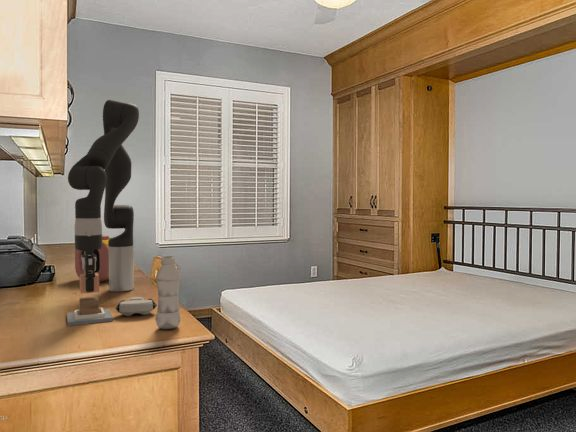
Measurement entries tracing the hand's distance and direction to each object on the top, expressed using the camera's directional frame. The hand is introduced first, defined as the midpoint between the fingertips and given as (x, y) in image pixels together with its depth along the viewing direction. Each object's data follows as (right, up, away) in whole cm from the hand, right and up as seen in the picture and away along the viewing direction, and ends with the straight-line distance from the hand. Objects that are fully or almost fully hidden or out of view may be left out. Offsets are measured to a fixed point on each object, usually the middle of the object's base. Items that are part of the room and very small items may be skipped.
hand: (89, 289), depth 139 cm
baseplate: (0, -9, 0) cm, 9 cm away
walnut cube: (0, -8, 0) cm, 8 cm away
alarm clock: (-23, -6, +65) cm, 69 cm away
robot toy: (+12, -9, +8) cm, 17 cm away
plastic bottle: (+26, -9, -10) cm, 30 cm away
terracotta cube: (0, 0, 0) cm, 0 cm away
